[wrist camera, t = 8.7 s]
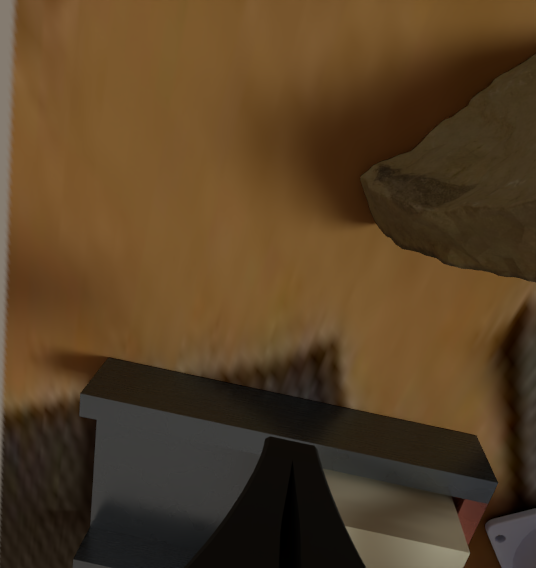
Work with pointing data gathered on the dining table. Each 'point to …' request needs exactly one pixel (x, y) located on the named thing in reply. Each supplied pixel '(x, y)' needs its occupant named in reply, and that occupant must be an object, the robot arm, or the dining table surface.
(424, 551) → the block
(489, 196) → the rock
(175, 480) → the chute
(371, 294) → the dining table surface
